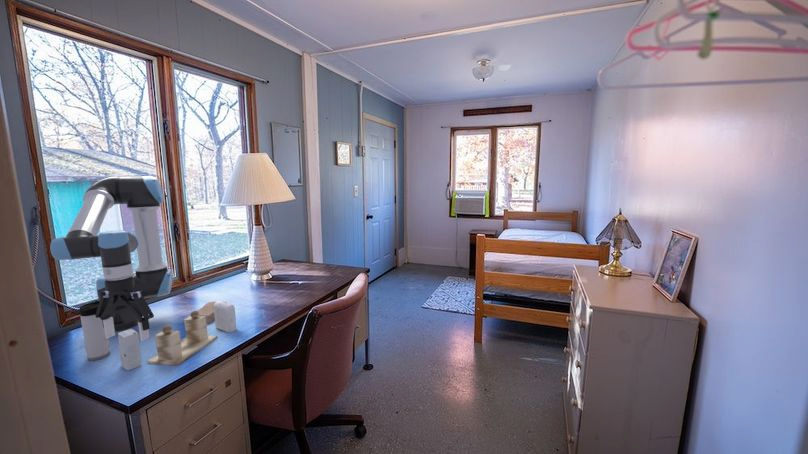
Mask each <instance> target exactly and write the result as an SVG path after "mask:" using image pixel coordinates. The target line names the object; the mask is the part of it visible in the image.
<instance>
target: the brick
mask: <svg viewBox="0 0 808 454" xmlns="http://www.w3.org/2000/svg"><path fill="white" fill-rule="evenodd" d="M217 301H218V300H217ZM217 301H216V300H215V301H209V302H206V304H204V305H203V306H202V307H200V308H199V309H197V310H196V311H198V313H199V315H198V316H206V324H207V325H208V324H210V323H212V322H213V321H215V316H214V304H215V302H217Z"/></svg>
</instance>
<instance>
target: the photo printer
mask: <svg viewBox="0 0 808 454" xmlns="http://www.w3.org/2000/svg"><path fill="white" fill-rule="evenodd" d="M214 302H215V304H214V316H215V319H214V324H215V328H216V329H218V330H220V331H223V332H226V333H232V332H235V331H236V329H237V319H236V318H237V317H236V309H235V308H236V307H235V305H234V304H233V303H232V302H229V301H227V300H217V302H216V301H214Z"/></svg>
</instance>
